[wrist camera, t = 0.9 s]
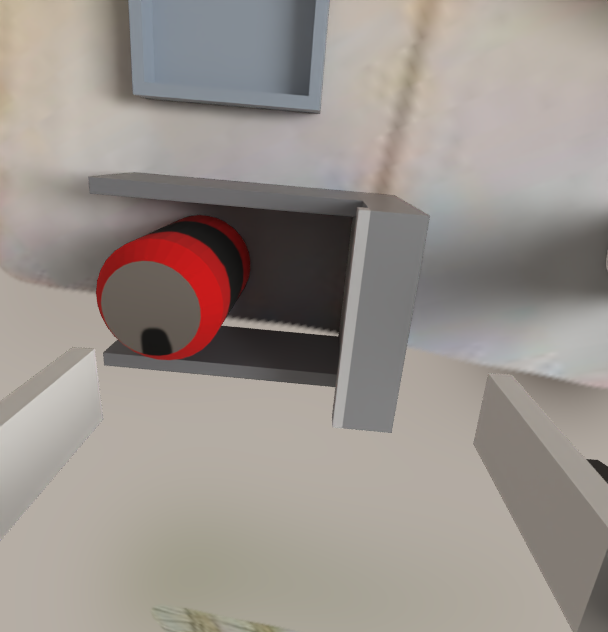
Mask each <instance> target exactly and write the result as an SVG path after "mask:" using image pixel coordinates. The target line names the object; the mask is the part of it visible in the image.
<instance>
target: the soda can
mask: <svg viewBox="0 0 608 632" xmlns="http://www.w3.org/2000/svg"><path fill="white" fill-rule="evenodd" d="M249 274H250V256H249V252H248V249H247V247H246V244H245V242H244V241H243V239H242V237H241V236H240V235H239V234H238V232H237V231H236V230H235V229H234V228H233V227H231V226H230V225H229V224H227V223H226V222H224V221H222V220H220V219H218V218H214V217H211V216H204V215H195V216H189V217H186V218H183V219H181V220H178V221H176V222H174V223H172V224H169V225H167V226H165V227H163V228H161V229H158V230H156V231H154V232H152V233H149V234H147V235H145V236H143V237H141V238H138V239H136V240H134V241H132V242H129V243H127V244H125V245H123V246H122V247H120V248H119V249H117V250H116V251H114V252H113V253H112V254H111V256H110V257H109V258H108V259H107V260H106V261H105V263H104V265H103V267H102V268H101V270H100V273H99V277H98V280H97V288H96V296H97V304H98V307H99V311H100V314H101V316H102V318H103V320H104V322H105V324H106V326H107V327H108V329H109V330H110V331H111V332H112V334H113V335H114V336H115V337H116V338H117V339H118V340H119V341H120V342H121V343H122V344H123V345H125V346H126V347H128V348H129V349H131V350H132V351H134V352H136V353H138V354H141V355H143V356H145V357H149V358H153V359H157V360H176V359H182V358H185V357H189V356H192V355H194V354H195V353H197V352H199V351H201V350H202V349H203V348H204V347H205V346H207V345H208V344H209V343H210V342H211V340H212V339H213V338H214V336H215V335H216V333H217V332H218V330H219V328H220V327H221V325H222V324H223V322H224V320H225V319H226V317H227V315H228V314H229V312H230V310H231V309H232V307H233V305H234V304H235V302H236V301H237V299H238V297H239V296H240V294H241V292H242V291H243V289H244V287H245V285H246V283H247V281H248V279H249Z"/></svg>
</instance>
